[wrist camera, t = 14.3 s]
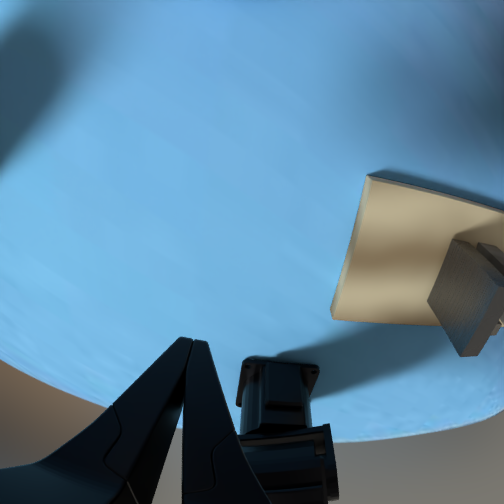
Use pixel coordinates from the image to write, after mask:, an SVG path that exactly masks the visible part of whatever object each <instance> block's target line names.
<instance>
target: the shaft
mask: <svg viewBox="0 0 504 504" xmlns="http://www.w3.org/2000/svg"><path fill="white" fill-rule="evenodd" d="M427 303H428V304H429V306H430V308H431V309H432V311H433V312H434V314H435V316H436V317H437V319H438V320H439V322H440V324H441V325H442V327H443V329H444V330H445V332H446V334H447V335H448V337H449V339H450V341H451V342H452V344H453V346H454V348H455V349H456V351H457V353H458V355H459V356H460V357H470V356H478V354H479V353H480V351H481V350H482V348H483V346H484V345H485V343H486V342H487V340H488V338H489V337H490V335H491V333H492V332H493V330H494V328H495V326H496V325H497V323H498V321H499V319H500V317H501V316H502V314H503V312H504V276H503V275H502V274H501V273H500V272H499V271H498V270H497V269H496V268H495V267H494V266H493V265H492V264H491V263H490V262H489V261H488V260H487V259H486V258H485V257H484V256H483V255H482V254H481V253H480V252H479V251H478V250H477V249H476V248H475V247H474V246H472V245H471V244H470V243H469V242H466V241H461V240H456V239H452V240H451V243H450V245H449V248H448V251H447V253H446V256H445V259H444V261H443V264H442V266H441V269H440V271H439V274H438V276H437V278H436V281H435V283H434V286H433V288H432V290H431V292H430V295H429V297H428V299H427Z"/></svg>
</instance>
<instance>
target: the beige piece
mask: <svg viewBox="0 0 504 504" xmlns="http://www.w3.org/2000/svg"><path fill="white" fill-rule="evenodd" d="M452 239H456V240H461V241H466V242H469V243H470V244H471V245H472V246H474V247H475V248H476V249H477V250H478V251H479V252H480V253H481V254H482V255H483V256H484V257H485V258H486V259H487V260H488V261H489V262H490V263H491V264H492V265H493V266H494V267H495V268H496V269H497V270H498V271H499V272H500V273H501V274H502V275H503V276H504V211H503V210H500V209H497V208H493V207H490V206H487V205H484V204H480V203H477V202H474V201H470V200H467V199H463V198H460V197H456V196H452V195H449V194H445V193H441V192H437V191H434V190H430V189H426V188H422V187H418V186H413V185H409V184H405V183H401V182H396V181H392V180H387V179H383V178H378V177H373V176H369V175H366V179H365V184H364V188H363V192H362V196H361V200H360V205H359V209H358V213H357V217H356V221H355V224H354V228H353V232H352V236H351V240H350V243H349V247H348V250H347V254H346V258H345V261H344V265H343V268H342V272H341V275H340V278H339V282H338V285H337V288H336V292H335V295H334V298H333V301H332V304H331V307H330V311H331V315H332V319H333V320H344V321H357V322H372V323H388V324H406V325H429V326H442V325H441V324H440V322H439V320H438V319H437V317H436V316H435V314H434V312H433V311H432V309H431V308H430V306H429V304H428V303H427V299H428V297H429V295H430V292H431V290H432V288H433V286H434V283H435V281H436V278H437V276H438V274H439V271H440V269H441V266H442V264H443V261H444V259H445V256H446V253H447V251H448V248H449V245H450V243H451V240H452ZM500 327H504V312H503V314H502V316H501V317H500V319H499V321H498V323H497V325H496V326H495V328H494V330H493V332H492V333H491V335H496V334H497V332H498V331H499V329H500Z"/></svg>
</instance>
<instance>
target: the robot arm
mask: <svg viewBox="0 0 504 504" xmlns="http://www.w3.org/2000/svg"><path fill="white" fill-rule="evenodd" d="M313 370H314V371H313ZM319 373H320V370H319V366H317V365H310V364H295V363H283V362H271V361H261V360H251V359H246V360H243V361H242V366H241V372H240V378H239V385H238V391H237V397H236V406H238V407H242V409H241V423H240V435H237V433H236V431H235V427H234V424H233V421H232V418H231V415H230V412H229V409H228V406H227V403H226V400H225V397H224V394H223V391H222V387H221V384H220V381H219V378H218V375H217V371H216V368H215V365H214V361H213V358H212V355H211V351H210V348H209V345H208V342H207V341H203V340H197V339H195V340H194V341H193V339H192V338H187V337H179V338H178V339H177V340H176V341H175V342H174V343H173V344H172V345H171V346H170V347H169V348H168V349H167V350H166V351H165V352H164V353H163V354H162V355H161V356H160V357H159V358H158V359H157V360H156V361H155V362H154V363H153V364H152V365H151V366H150V367H149V368H148V369H147V370H146V371H145V372H144V373H143V374H142V375H141V376H140V377H139V378H138V379H137V380H136V381H135V382H134V383H133V384H132V385H131V386H130V387H129V388H128V389H127V390H126V391H125V392H124V393H123V394H122V395H121V396H120V397H119V398H118V399H117V400H116V401H115V402H114V403H113V404H112V405H113V406H112V405H110V406H109V407H108V408H107V409H106V410H105V411H104V412H103V413H102V414H101V415H100V416H99V417H98V418H97V419H96V420H95V421H94V422H93V423H91V424H90V425H89V426H88V427H86V428H85V429H84V430H82V431H81V432H80V433H79V434H77V435H76V436H75V437H74V438H72V439H71V440H69V441H68V442H66V443H65V444H64V445H62V446H61V447H60V448H58V449H57V450H55V451H54V452H53V453H51V454H50V455H49V456H47V457H45V458H43V459H42V460H39V461H37V462H35V463H31V464H26V465H21V466H15V467H9V468H3V469H0V504H152V500H153V497H154V494H155V491H156V488H157V485H158V482H159V479H160V475H161V472H162V469H163V466H164V463H165V460H166V457H167V453H168V451H169V448H170V444H171V441H172V438H173V435H174V432H175V429H176V426H177V423H178V420H179V417H180V414H181V411H182V407H183V429H182V504H328V501H334V500H339V488H338V478H337V468H336V461H335V454H334V448H333V441H332V435H331V429H330V423H328V424H323V426H317V427H312V418H311V409H310V399H309V397H310V395H311V392H312V390H313V387H314V385H315V383H316V380H317V378H318V375H319ZM183 403H184V404H183Z"/></svg>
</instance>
